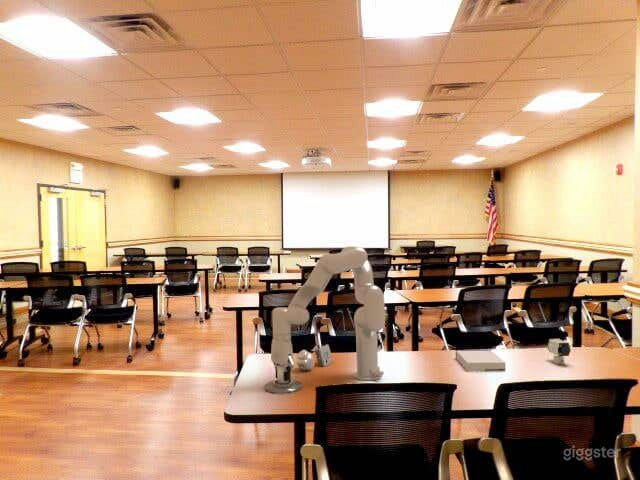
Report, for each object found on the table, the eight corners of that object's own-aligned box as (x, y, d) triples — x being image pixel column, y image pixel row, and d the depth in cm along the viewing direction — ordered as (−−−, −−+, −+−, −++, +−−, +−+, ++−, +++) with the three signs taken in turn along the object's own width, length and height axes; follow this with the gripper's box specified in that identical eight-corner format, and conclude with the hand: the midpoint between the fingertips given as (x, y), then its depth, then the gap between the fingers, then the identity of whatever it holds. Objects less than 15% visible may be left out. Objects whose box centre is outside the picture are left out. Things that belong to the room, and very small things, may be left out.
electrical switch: (324, 367, 231) (322, 348, 232) (315, 367, 234) (313, 348, 234) (333, 362, 240) (331, 344, 240) (324, 362, 242) (322, 344, 242)
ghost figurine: (293, 369, 229) (292, 348, 229) (311, 366, 233) (310, 346, 233) (300, 374, 221) (299, 353, 221) (318, 371, 225) (317, 350, 225)
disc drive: (490, 359, 240) (490, 349, 240) (506, 372, 218) (505, 361, 218) (455, 359, 241) (455, 349, 241) (467, 372, 219) (467, 362, 219)
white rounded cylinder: (282, 384, 199) (281, 366, 199) (275, 382, 203) (274, 364, 203) (291, 381, 203) (291, 364, 203) (284, 379, 206) (283, 362, 206)
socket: (309, 387, 202) (309, 381, 202) (279, 396, 192) (279, 390, 192) (286, 379, 214) (286, 373, 214) (256, 387, 203) (256, 381, 203)
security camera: (556, 359, 235) (555, 335, 234) (571, 366, 223) (570, 341, 223) (545, 360, 234) (545, 336, 234) (560, 367, 222) (559, 341, 222)
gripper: (263, 335, 206) (264, 376, 207) (287, 341, 194) (288, 385, 194) (276, 332, 211) (278, 373, 212) (301, 338, 199) (302, 381, 199)
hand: (283, 378), depth 203 cm, fingers closed on white rounded cylinder, 4 cm apart
